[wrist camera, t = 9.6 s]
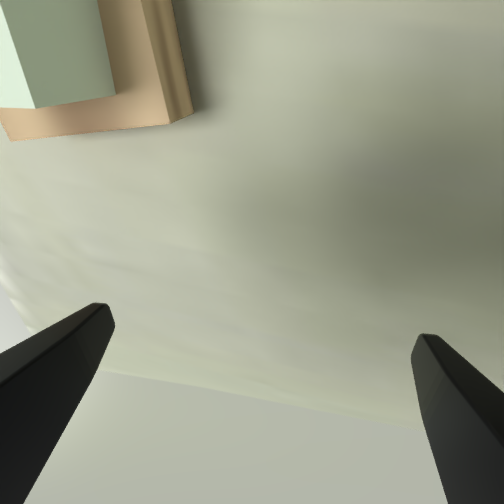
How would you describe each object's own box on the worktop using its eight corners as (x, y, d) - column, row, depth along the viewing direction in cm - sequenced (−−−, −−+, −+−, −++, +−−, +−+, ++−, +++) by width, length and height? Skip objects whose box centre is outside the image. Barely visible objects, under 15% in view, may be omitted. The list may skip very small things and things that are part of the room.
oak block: (150, -115, 13) (97, -177, 10) (195, 112, 18) (170, 123, 14) (-20, -69, 15) (-116, -108, 11) (61, 128, 19) (10, 141, 16)
